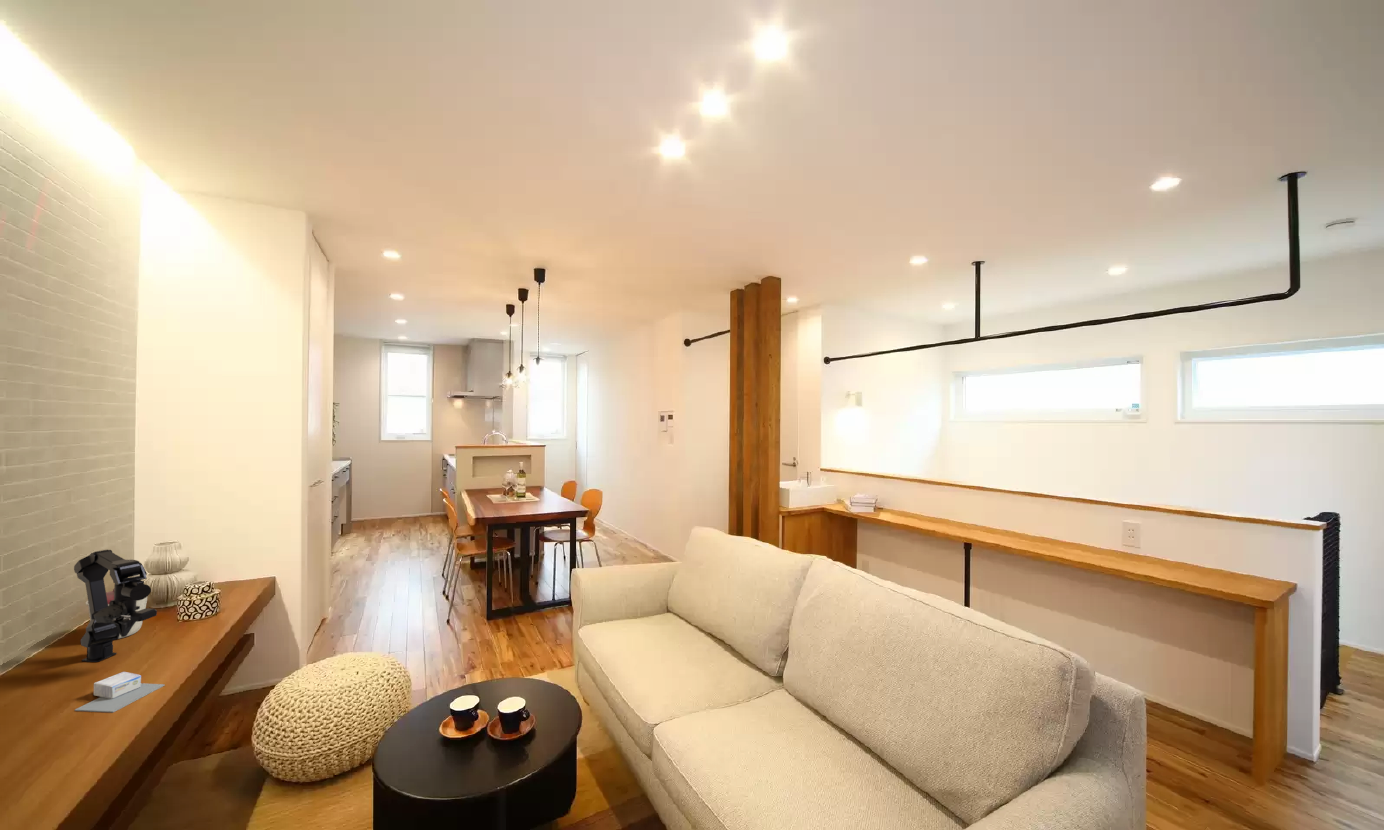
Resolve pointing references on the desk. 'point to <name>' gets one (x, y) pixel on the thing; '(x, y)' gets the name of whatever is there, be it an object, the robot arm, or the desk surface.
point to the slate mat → (119, 699)
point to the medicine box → (117, 685)
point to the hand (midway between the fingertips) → (124, 636)
